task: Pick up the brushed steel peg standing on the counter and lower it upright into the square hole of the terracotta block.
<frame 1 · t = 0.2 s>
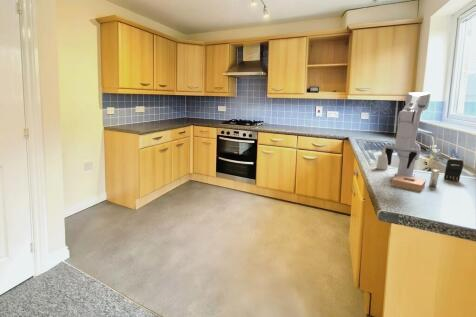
hand: (398, 166, 130), 10 cm above the countertop, tool pointing down, fingers open, 7 cm apart
steel peg: (432, 186, 136), on the countertop
battery charger: (451, 180, 148), on the countertop
eye dropper bottle: (381, 169, 166), on the countertop
hole block: (408, 185, 136), on the countertop
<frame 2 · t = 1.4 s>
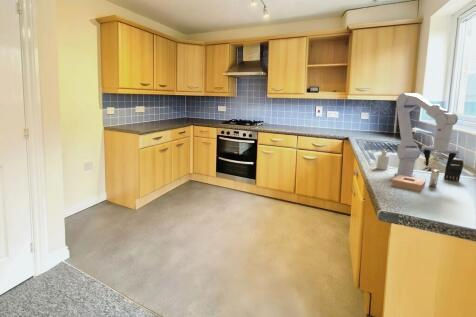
hand: (436, 167, 134), 9 cm above the countertop, tool pointing down, fingers open, 7 cm apart
nothing on the countertop moved.
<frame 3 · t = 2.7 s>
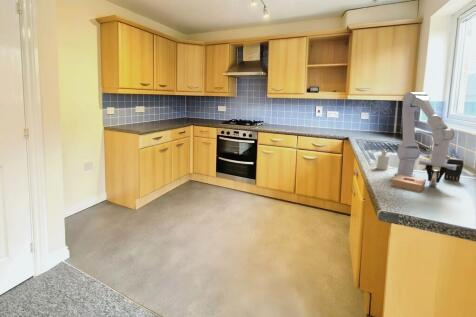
hand: (433, 181, 136), 2 cm above the countertop, tool pointing down, fingers closed on steel peg, 3 cm apart
steel peg: (432, 186, 136), on the countertop, touching gripper
everything else where it was.
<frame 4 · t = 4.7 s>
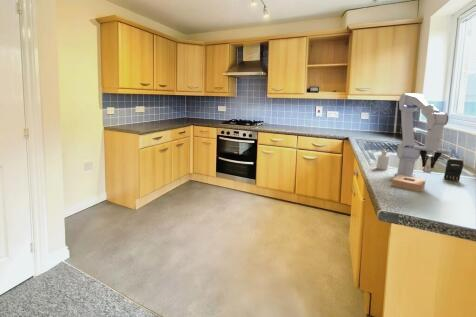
hand: (427, 167, 134), 9 cm above the countertop, tool pointing down, fingers closed on steel peg, 3 cm apart
steel peg: (426, 172, 134), point 7 cm above the countertop, touching gripper
everything else where it was.
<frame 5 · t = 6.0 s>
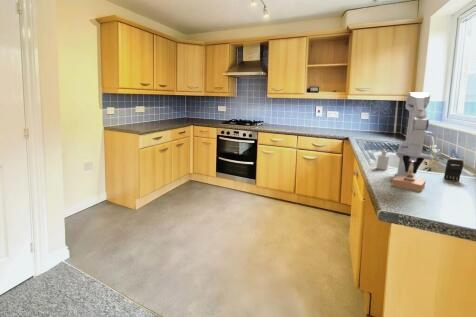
hand: (410, 172, 134), 7 cm above the countertop, tool pointing down, fingers closed on steel peg, 3 cm apart
steel peg: (409, 177, 135), point 4 cm above the countertop, touching gripper
everything else where it was.
when the fingers open (4 cm above the countertop, at t = 6.9 s): steel peg drops 1 cm, resting in hole block.
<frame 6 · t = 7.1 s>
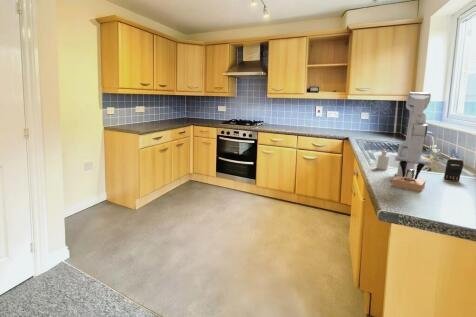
hand: (409, 177, 135), 4 cm above the countertop, tool pointing down, fingers open, 4 cm apart
steel peg: (408, 185, 136), resting in hole block
everything else where it was.
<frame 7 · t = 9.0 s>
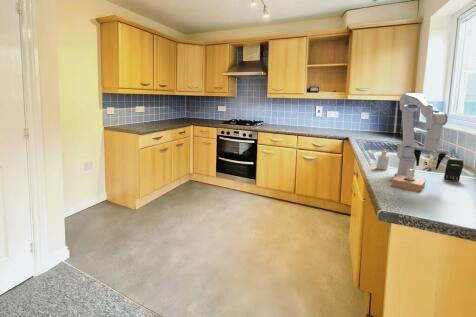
hand: (426, 167, 134), 9 cm above the countertop, tool pointing down, fingers open, 7 cm apart
nothing on the countertop moved.
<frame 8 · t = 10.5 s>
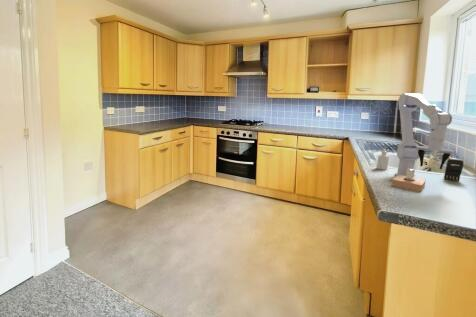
hand: (430, 167, 134), 9 cm above the countertop, tool pointing down, fingers open, 7 cm apart
nothing on the countertop moved.
at the end: steel peg 0.0 cm off-centre on the hole block, point 0.0 cm above the hole block's base; steel peg tilted 0°; the gripper is holding nothing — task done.
